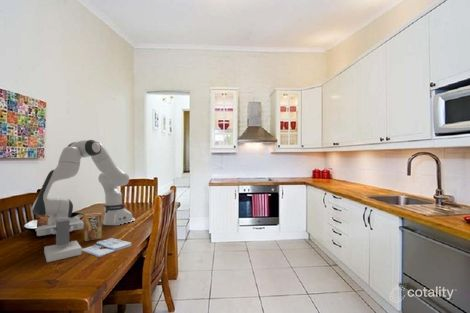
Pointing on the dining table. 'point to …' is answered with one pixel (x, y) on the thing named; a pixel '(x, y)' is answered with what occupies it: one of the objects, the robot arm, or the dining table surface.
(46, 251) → the white block
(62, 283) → the dining table surface
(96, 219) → the candy box
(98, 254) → the folded bicycle print cloth
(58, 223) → the tall block
